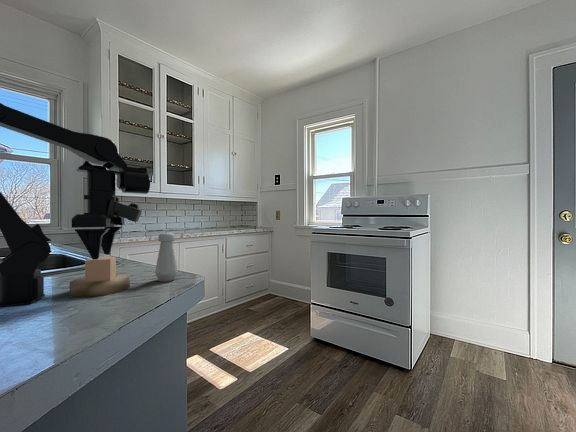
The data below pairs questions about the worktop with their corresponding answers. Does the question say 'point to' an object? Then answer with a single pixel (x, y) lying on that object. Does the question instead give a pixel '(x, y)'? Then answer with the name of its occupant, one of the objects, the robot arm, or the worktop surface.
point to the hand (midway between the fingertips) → (101, 256)
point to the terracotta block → (100, 269)
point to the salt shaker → (166, 258)
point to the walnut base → (99, 286)
